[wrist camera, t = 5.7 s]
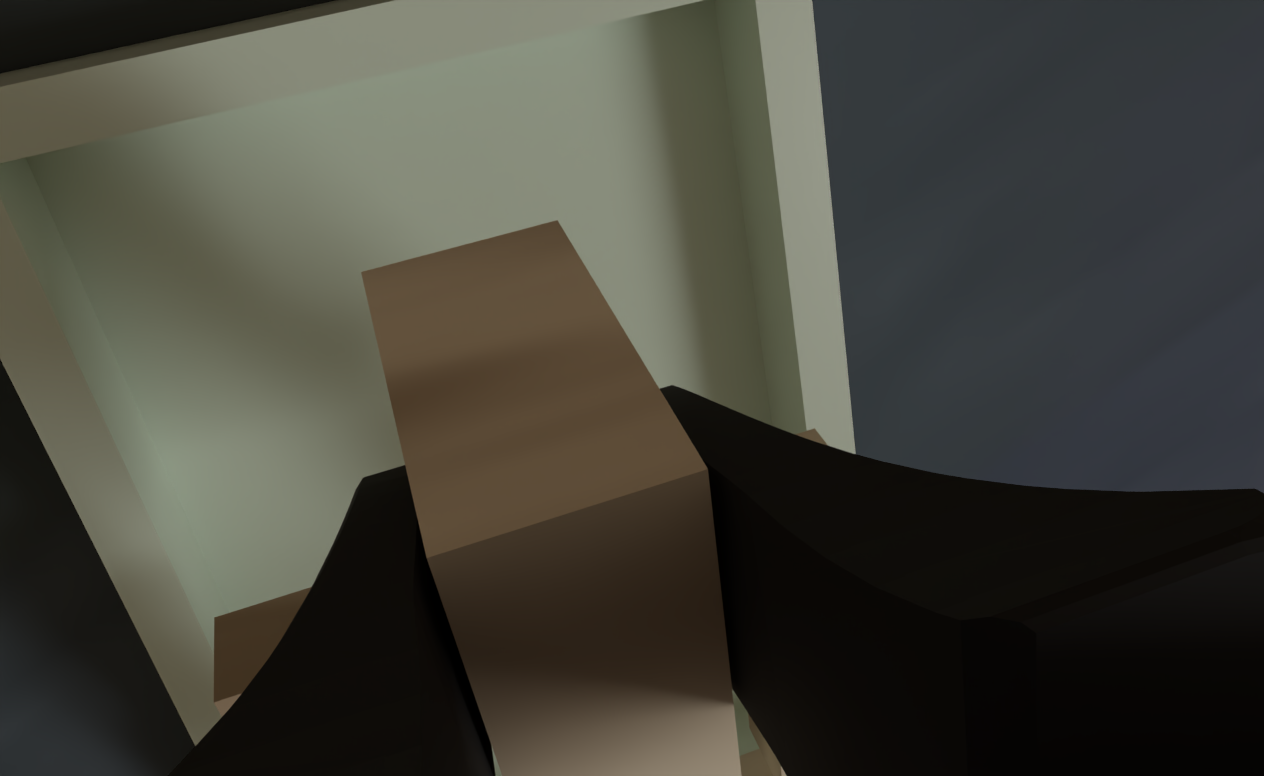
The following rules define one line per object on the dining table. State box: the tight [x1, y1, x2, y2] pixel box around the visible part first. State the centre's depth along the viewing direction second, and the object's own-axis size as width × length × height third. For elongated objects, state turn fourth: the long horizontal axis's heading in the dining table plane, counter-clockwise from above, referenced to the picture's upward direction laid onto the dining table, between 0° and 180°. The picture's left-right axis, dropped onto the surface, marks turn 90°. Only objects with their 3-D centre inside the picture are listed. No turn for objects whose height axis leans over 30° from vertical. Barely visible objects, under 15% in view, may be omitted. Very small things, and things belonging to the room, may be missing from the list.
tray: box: [0, 0, 855, 776], centre depth 21 cm, size 19×14×2 cm
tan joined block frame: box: [214, 220, 827, 776], centre depth 15 cm, size 14×9×5 cm, turn 10°
